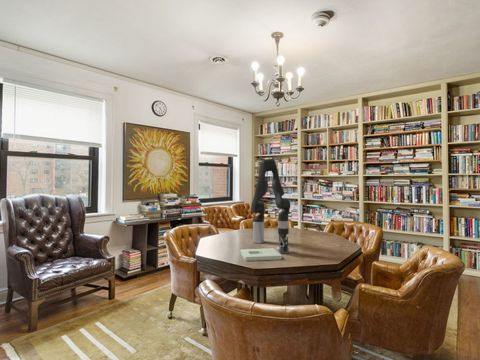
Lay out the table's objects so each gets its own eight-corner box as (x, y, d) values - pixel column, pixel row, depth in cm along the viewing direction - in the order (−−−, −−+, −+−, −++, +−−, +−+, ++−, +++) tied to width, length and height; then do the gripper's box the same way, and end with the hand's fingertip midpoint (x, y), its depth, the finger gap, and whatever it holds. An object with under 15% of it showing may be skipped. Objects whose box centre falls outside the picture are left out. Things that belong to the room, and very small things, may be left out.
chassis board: (240, 252, 197) (240, 249, 197) (273, 251, 201) (273, 247, 201) (245, 260, 178) (245, 256, 178) (281, 259, 181) (281, 255, 181)
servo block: (276, 252, 199) (276, 244, 199) (288, 251, 200) (288, 243, 200) (278, 253, 195) (278, 245, 195) (290, 253, 197) (290, 245, 197)
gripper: (275, 225, 204) (275, 248, 204) (281, 228, 190) (281, 252, 190) (285, 225, 205) (285, 247, 205) (291, 228, 191) (291, 252, 191)
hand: (283, 250), depth 198 cm, fingers open, 8 cm apart
